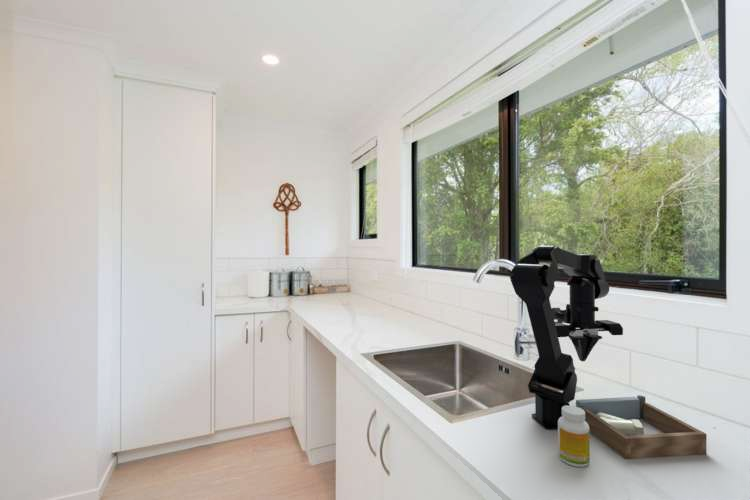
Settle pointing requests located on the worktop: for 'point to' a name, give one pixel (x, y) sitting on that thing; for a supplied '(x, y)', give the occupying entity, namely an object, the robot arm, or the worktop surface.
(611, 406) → the grey rectangular bar
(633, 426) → the pipe fitting
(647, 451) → the rectangular wooden tray
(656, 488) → the worktop surface
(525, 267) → the robot arm
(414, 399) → the worktop surface
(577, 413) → the supplement bottle
